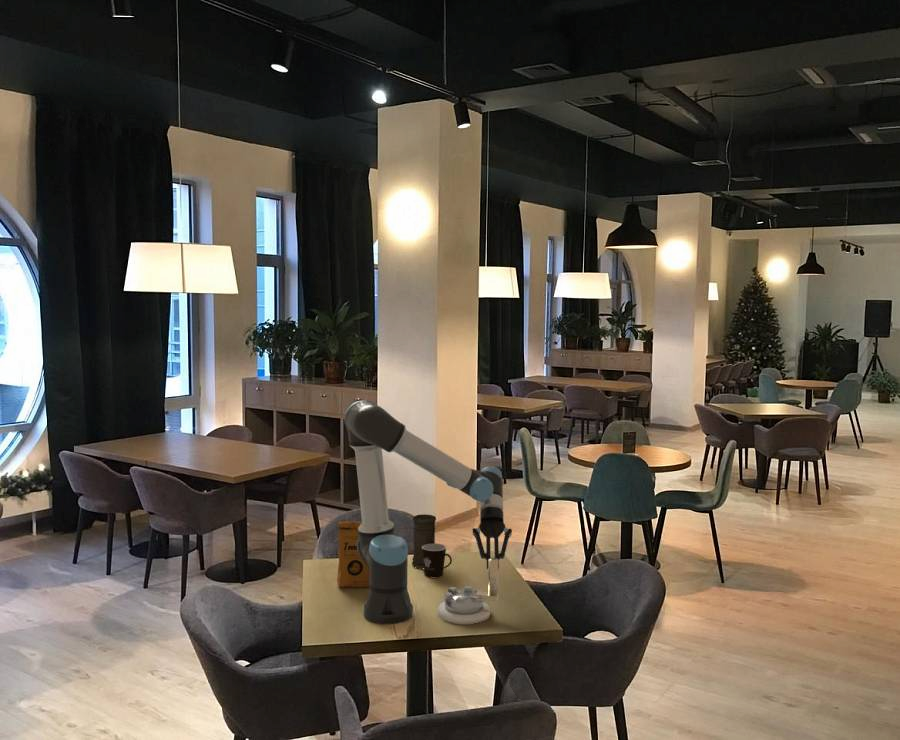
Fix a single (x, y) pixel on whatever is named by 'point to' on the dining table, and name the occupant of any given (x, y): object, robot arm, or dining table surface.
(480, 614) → the nut base plate
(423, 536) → the container
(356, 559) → the coffee package
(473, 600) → the grey and clear pieces
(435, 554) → the coffee mug
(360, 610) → the dining table surface
